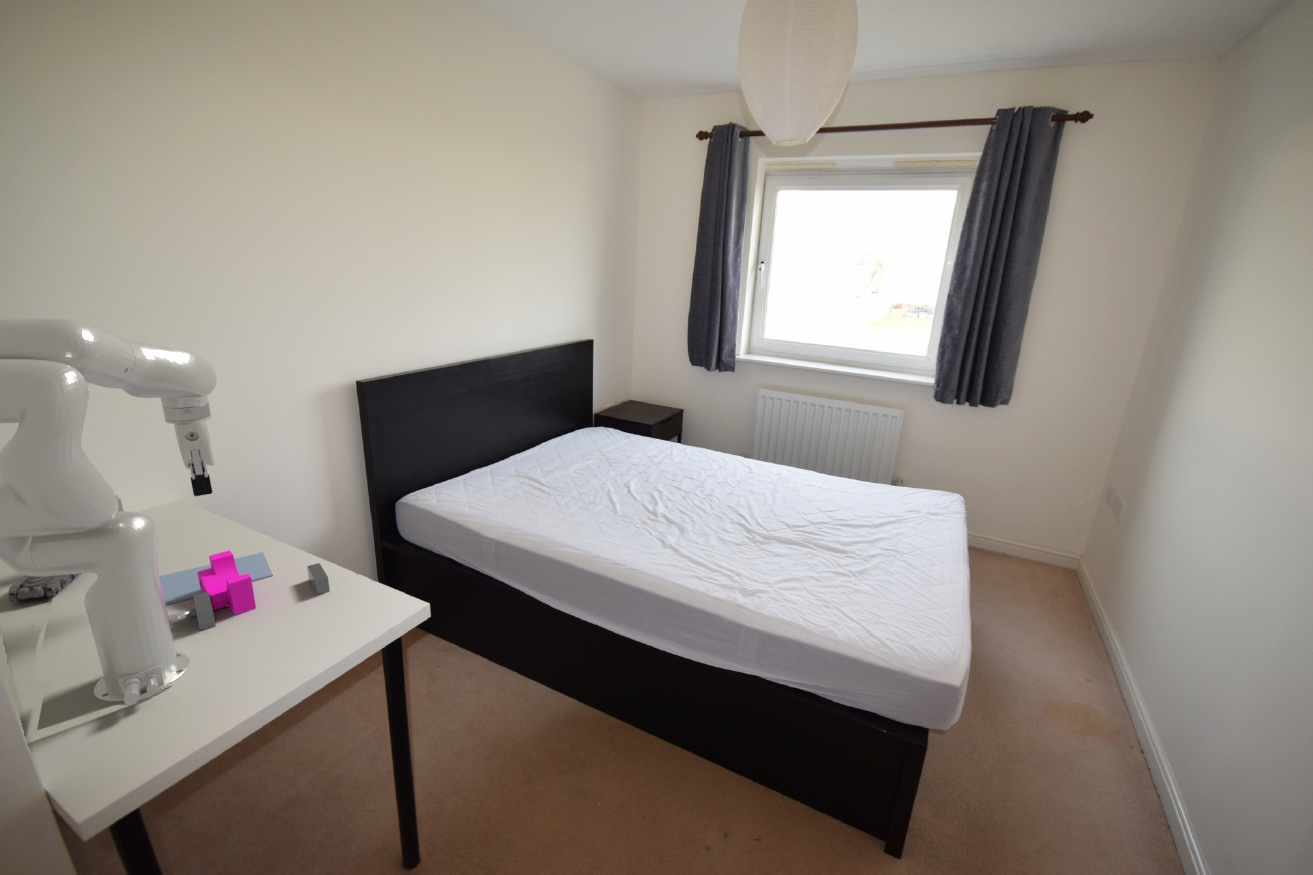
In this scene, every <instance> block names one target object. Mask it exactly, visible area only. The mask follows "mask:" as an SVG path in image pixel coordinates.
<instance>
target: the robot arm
mask: <svg viewBox="0 0 1313 875" xmlns="http://www.w3.org/2000/svg"><path fill="white" fill-rule="evenodd" d="M217 381H218V380H217V373H216V371H215V369H214V367H213V366H212V365H211V363H210V362H209V361H207V359H205V358H203V357H201V356H200V355H198V354H196V353H191V352H188V351H184V350H182V349H181V350H180V349H177V348H170V347H165V346H160V345H156V344H155V345H153V344H150V343H144V342H140V341H135V340H134V341H133V340H128V339H124V338H122V337H119V336H117V335H113V334H111V333H109V332H106V331H103V330H101V329H99V328H96V327H94V326H91V325H89V324H86V323H83V322H81V321H77V320H72V319H66V318H65V319H64V318H43V317H41V318H38V317H37V318H36V317H35V318H33V317H32V318H31V317H30V318H29V317H0V424H17V423H18V426H17V429H16V430H15V432H14V434H13V435H12V437H11V438H10V439H9V440H8V441H7V442H6V443H5V444H4V446H3V447H2V448H1V450H0V561H1V562H3V563H4V564H6V566H8V567H9V568H11V569H12V571H15V572H17V573H19V574H20V575H23V576H25V575H27V576H35V577H40V576H55V575H66V574H78V573H81V574H95V575H97V577H96V578H97V579H96V580H95V581H94V583H93V584H92V585H90V587H89V588H88V590H87V591H86V594H85V597H84V608H85V612H86V614H87V618H88V622H89V625H90V628H91V633H92V638H93V640H94V644H95V649H96V652H97V655H98V659H99V664H100V668H101V671H102V674H103V676H102V677H100V679H99V680H98V681H97V682H96V684H95V685H94V688H93V694H94V696H95V698H97V699H98V700H100V701H104V702H110V703H112V702H113V703H114V702H115V703H116V702H119V703H117V705H124V704H126V705H132V704H135V703H137V702H139V701H143V700H145V699H148V698H151V697H153V696H156V695H158V694H160V693H162V692H165V691H166V690H168V689H170V688H172V687H173V685H171V684H173V683H174V682H175V681H177V680H178V679H179V678H181V677H182V676H183V675H184V674H185V672H186V671H187V670H188V668H189V667H190V659H189V657H188V656H187V655H186V654H184V653H182V652H178V651H176V646H175V642H174V637H173V632H172V628H171V624H170V623H169V618H168V616H169V615H168V609H167V605H166V604H165V599H164V595H163V591H162V586H161V581H160V576H161V575H160V570H159V556H158V552H159V530H158V526H157V524H156V522H155V521H154V519H152V518H151V517H150V516H149V515H147V514H144V513H140V512H135V511H126V510H124V511H118V507H119V505H118V499H117V497H116V495H117V494H116V493H115V491H114V490H113V488H112V487H111V485H110V483H108V482H107V480H106V478H105V477H104V476H103V475H102V474H101V473H100V471H99V470H98V469H97V468H96V467H95V465H94V464H93V463H92V461H91V460H90V459H89V458H88V456H87V454H86V453H85V451H84V450H83V448H82V447H83V446H82V435H83V429H84V424H85V420H86V415H87V409H88V406H89V405H88V403H89V395H90V394H89V388H88V384H91V385H96V386H99V387H104V388H109V389H117V390H118V389H119V390H120V389H121V390H122V391H124V392H125V394H127V395H130V396H132V397H137V398H141V399H142V398H144V399H155V398H156V399H160V401H161V406H162V411H163V415H164V421H165V423H167V424H172V425H173V426H174V432H175V436H176V440H177V446H178V449H179V453H180V455H181V459H182V462H183V465H184V468H186V469H188V470H189V471H190V475H191V476H190V482H191V483H190V484H191V488H192V494H193V496H194V497H199V496H206V495H211V494H213V486H212V482H211V477H210V474H209V473H208V469H207V466H210V467H212V466H215V459H214V453H213V448H212V443H211V438H210V433H209V428H208V424H207V421H208V420H210V419H211V418H212V415H211V414H212V413H211V408H210V402H209V396H208V395H210V394H212V393H213V391H214V390H215V388H216V386H217ZM87 383H88V384H87ZM169 685H170V686H169Z"/></svg>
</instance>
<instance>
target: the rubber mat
mask: <svg viewBox="0 0 1313 875" xmlns="http://www.w3.org/2000/svg"><path fill="white" fill-rule="evenodd" d="M234 560H235V564H236V567H237V570H238V573H239V575H240V576H241V575H244V574H247V573H248V574H249V575H250V576H251V580H252V583H253V582H256V581H261V580H264V579H267V578H270V577H273V576H274V574H273V572H272V570H271V567H270V564H269V562H268V561H267V558H266V556H265V554H264V552H263V551H262V552H258V553H253V554H249V555H244V556H239V557H235V558H234ZM208 568H211V564H207V565H201V566H198V567H193V568H189V569H183V570H181V571H176V572H172V573H168V574H162V575H159V576H160V581H161V586H162V591H163V595H164V599H165V604H166V606H167V605H171V604H174V603H178V602H183V601H187V600H190V599H194V596H193V595H197V594H201V593H202V591H201V589H200V584H199V579H198V574H197V572H198V571H201V570H205V569H208Z"/></svg>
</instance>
